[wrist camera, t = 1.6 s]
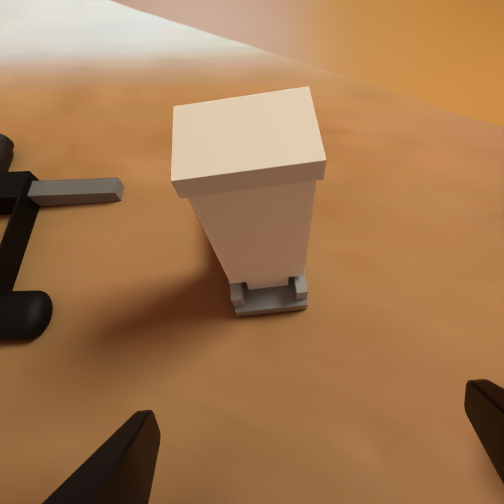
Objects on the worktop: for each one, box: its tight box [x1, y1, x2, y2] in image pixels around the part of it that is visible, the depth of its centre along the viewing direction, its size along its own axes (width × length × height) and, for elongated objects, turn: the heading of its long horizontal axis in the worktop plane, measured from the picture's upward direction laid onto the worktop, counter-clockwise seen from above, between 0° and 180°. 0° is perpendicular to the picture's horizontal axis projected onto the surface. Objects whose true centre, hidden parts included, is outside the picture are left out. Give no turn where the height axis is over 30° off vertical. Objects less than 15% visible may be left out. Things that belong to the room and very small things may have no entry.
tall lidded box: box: [171, 86, 326, 290], centre depth 17 cm, size 4×5×13 cm
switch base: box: [229, 273, 308, 317], centre depth 24 cm, size 12×5×3 cm, turn 5°
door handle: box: [0, 134, 124, 340], centre depth 27 cm, size 3×20×16 cm
